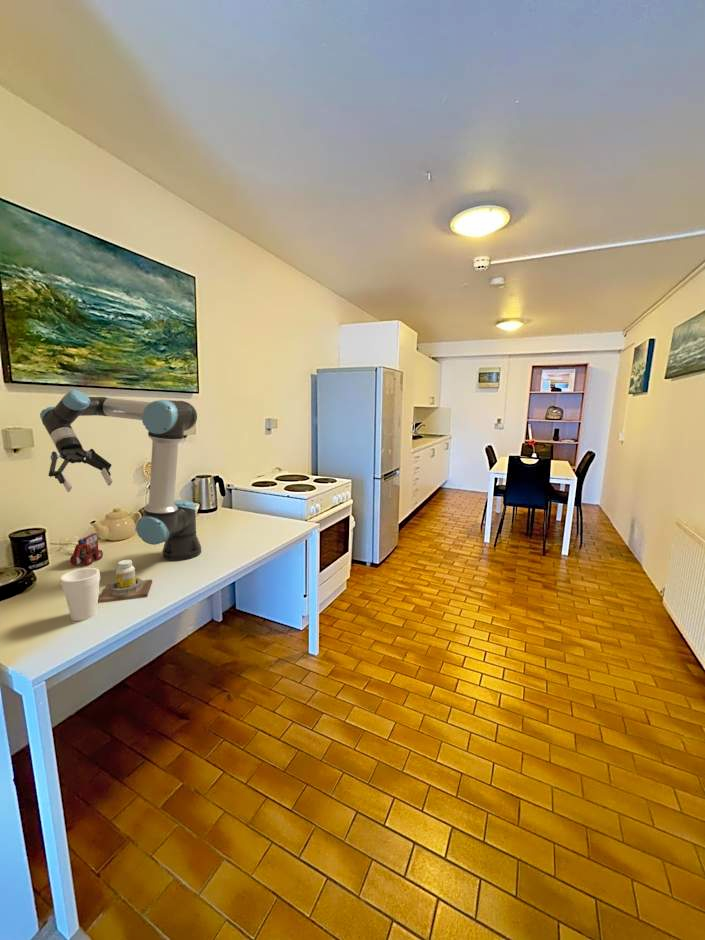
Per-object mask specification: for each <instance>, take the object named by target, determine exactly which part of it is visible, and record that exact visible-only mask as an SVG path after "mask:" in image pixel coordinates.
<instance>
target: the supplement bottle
mask: <svg viewBox="0 0 705 940" xmlns="http://www.w3.org/2000/svg"><path fill="white" fill-rule="evenodd" d="M117 567H118V568H117V569H116V572H115V573H116V574H115V575H116V581H117V586H118V588H119V589H122V588H128V587H132V586H134V585H136V580H135V578H136V570H135V569H136V568H135V567H134V565H133V561H132V560H131V559H123V560H120V561H118V563H117Z"/></svg>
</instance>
